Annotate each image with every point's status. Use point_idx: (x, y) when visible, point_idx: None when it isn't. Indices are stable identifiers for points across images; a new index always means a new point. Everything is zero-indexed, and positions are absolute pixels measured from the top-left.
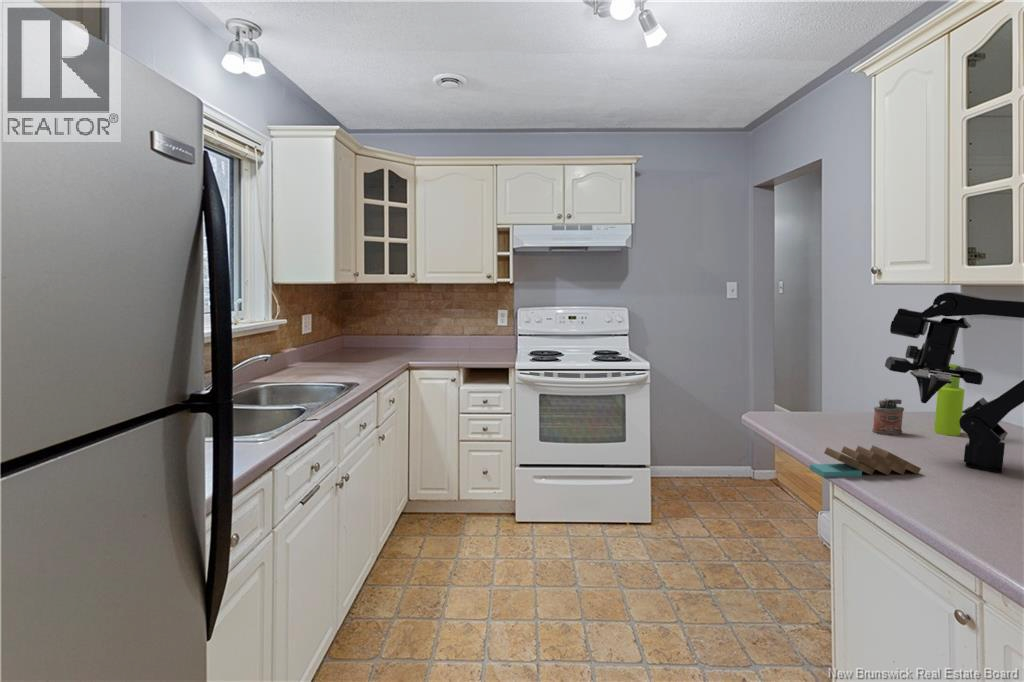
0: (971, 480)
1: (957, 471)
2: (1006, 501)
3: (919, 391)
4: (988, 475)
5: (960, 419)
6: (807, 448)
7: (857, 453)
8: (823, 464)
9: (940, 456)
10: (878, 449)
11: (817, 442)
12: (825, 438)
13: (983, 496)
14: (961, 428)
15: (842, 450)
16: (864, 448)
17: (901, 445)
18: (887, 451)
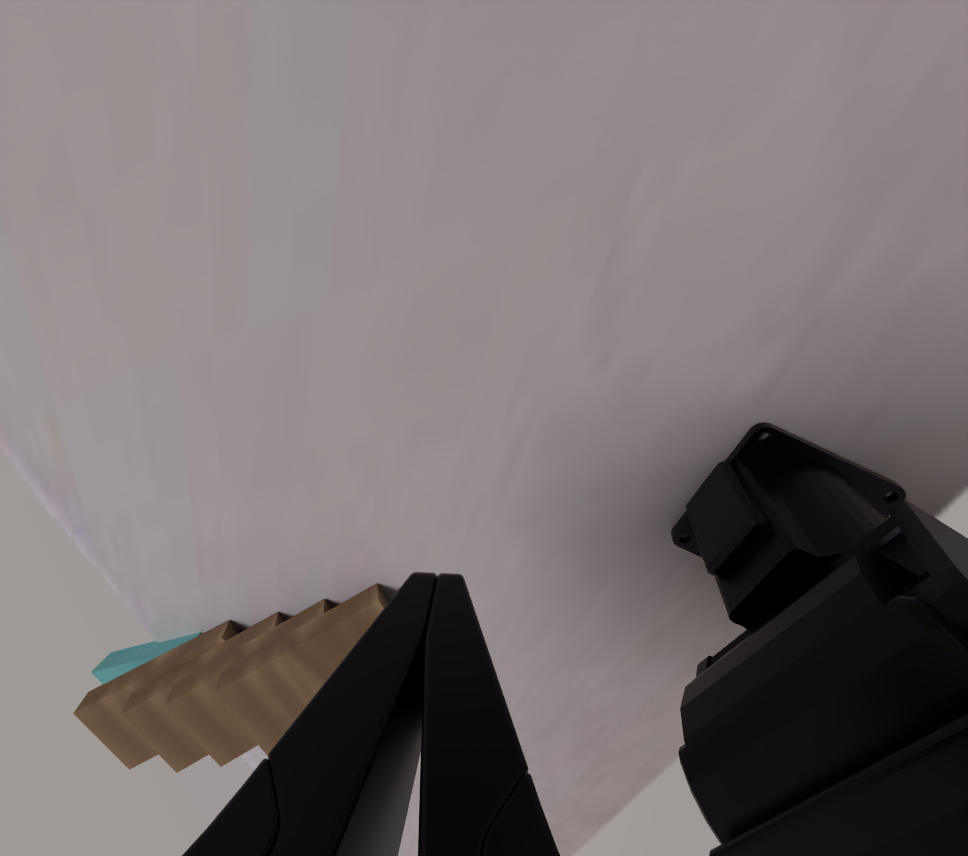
0: (595, 673)
1: (594, 592)
2: (605, 799)
3: (313, 701)
4: (709, 615)
5: (683, 768)
6: (30, 429)
7: (173, 765)
8: (125, 667)
9: (629, 375)
10: (239, 714)
11: (34, 301)
12: (43, 181)
13: (556, 777)
14: (686, 686)
15: (130, 701)
16: (187, 731)
17: (470, 177)
18: (265, 752)
